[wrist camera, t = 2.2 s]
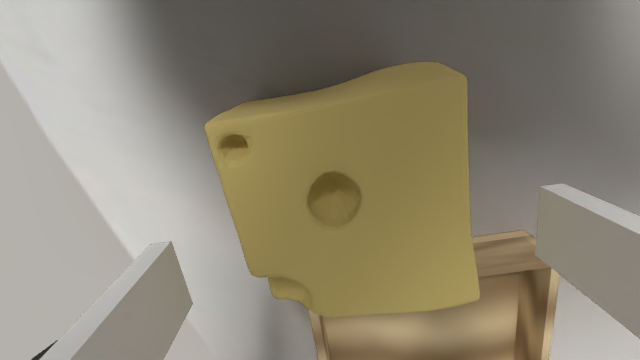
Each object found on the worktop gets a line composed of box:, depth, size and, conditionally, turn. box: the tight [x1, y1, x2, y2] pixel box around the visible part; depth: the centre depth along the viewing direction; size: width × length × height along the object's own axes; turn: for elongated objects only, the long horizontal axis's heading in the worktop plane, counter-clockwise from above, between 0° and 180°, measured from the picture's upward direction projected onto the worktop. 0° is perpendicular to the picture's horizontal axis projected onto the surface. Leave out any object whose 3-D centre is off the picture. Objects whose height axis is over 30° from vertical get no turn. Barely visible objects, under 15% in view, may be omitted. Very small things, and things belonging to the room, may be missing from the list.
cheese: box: [205, 61, 480, 317], centre depth 17 cm, size 10×11×10 cm
